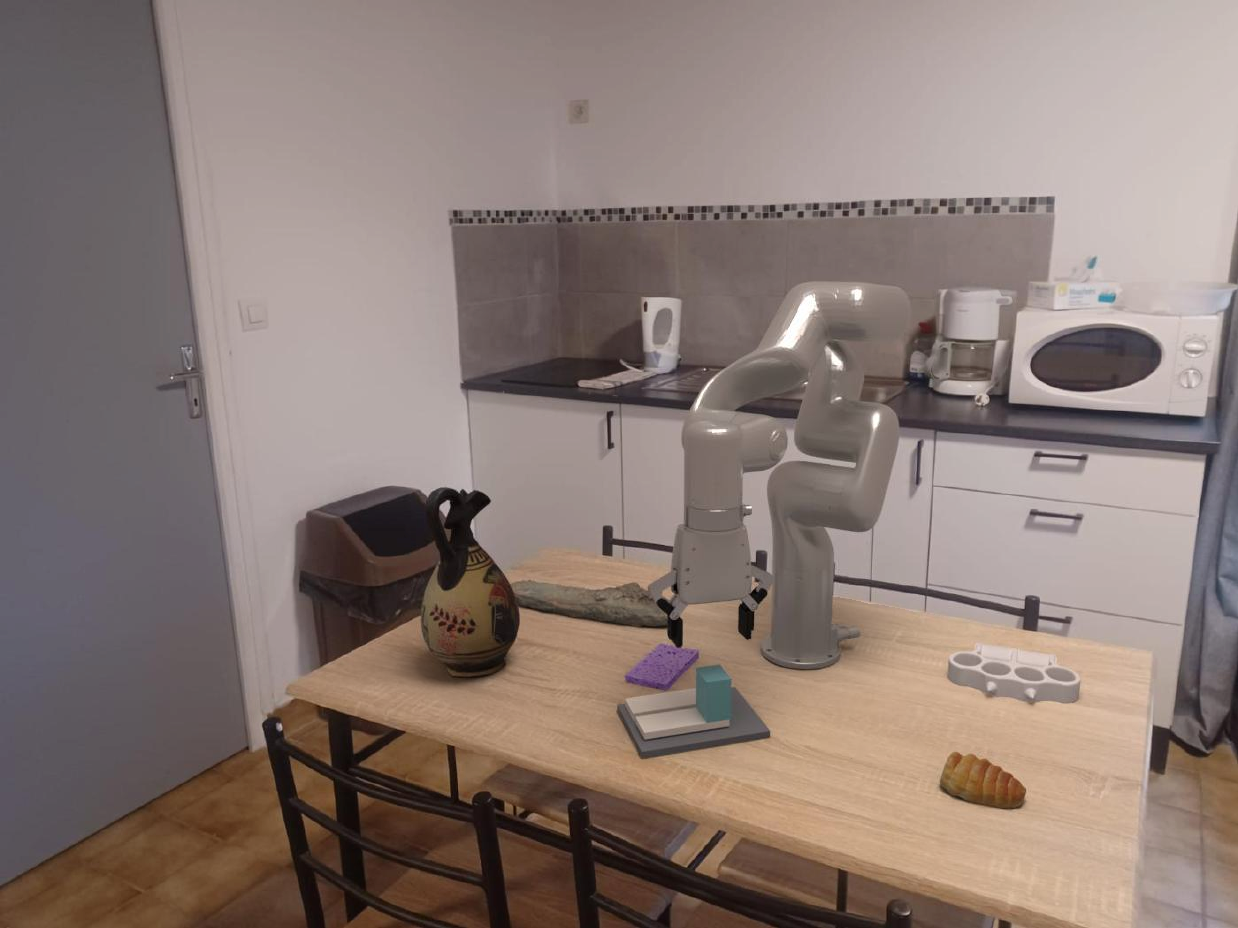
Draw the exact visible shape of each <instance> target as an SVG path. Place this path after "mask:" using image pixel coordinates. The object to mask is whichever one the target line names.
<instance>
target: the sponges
mask: <svg viewBox="0 0 1238 928" xmlns="http://www.w3.org/2000/svg"><path fill="white" fill-rule="evenodd" d="M699 659H700V650H699V649H697V648H691V647H690V648H688V647H684V648H683V646H681V648H677V647H676V646H675V645H670V644H668V643H663V642H659V643H658V645H656V646H655V647H654V648H653V649H652V650H651V652H649V653H648V654H646V656H645V657H643V659H641V660H640V661H639V662H638V663H636V664H635V665H634V666H632V668H631V669H630V670H629V671H627V672H626V673H625V674H624V680H625V681H626V682H628V684H630V683H631V684H632V685H635V686H640V687H646V688H651V689H653V690H659V691H662V692H663V691H664V692H668V690H669V689H670V688H671V687H672V686H673V685H674V683H676V682H677V680H679V679H680V678H681V677H682V676H683V674H685V673H686V671H688V670H689V668H690V667H692V666H693V665H694V664H695V663H696V662H697V661H698V660H699Z"/></svg>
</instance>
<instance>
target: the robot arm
mask: <svg viewBox="0 0 1238 928" xmlns="http://www.w3.org/2000/svg"><path fill="white" fill-rule="evenodd" d="M911 318H912V306H911V302H910V299H909V296H908V294H907V293H906V291H905V290H903V288H901V287H899V286H895V285H884V284H877V283H870V282H862V281H861V282H859V281H820V280H819V281H806V282H802V283H799V284H797V285H795V286H794V287H792V288H791V289H790V290H789V291H788V293H786V295H785V297H784V299H783V301H781V304H780V305H779V308H778V310H777V312H776V313H775V315H774V317H773V318H772V320H771V322H770V324H769V326H768V328H767V330H766V332H765V334H764V335H763V337H762V339H761V341H760V342H759V344H758V346H757V347H756V349H755V350H754V351H752V352H749V353H748V354H746V355H743V356H742V357H740V358H738V359H737V360H736V361H734V362H732V363H730V364H728V365H727V366H726V367H725V368H722V369H721V370H720V371H718V372H717V373H716V374H714V375H713V376H712V377H711V378H710V379H709V380H708V381H707V382H706V383H704V385H703V386H702V387H701V390H700V391H699V393H698V395H697V396H696V398H695V400H694V402H693V403H692V405H691V407H690V409H689V411H688V412H687V415H686V417H685V419H684V422H683V426H682V430H681V440H680V441H681V446H682V449H683V456H684V457H683V470H684V471H683V523H681V524H678V525H677V527H676V531H675V535H674V540H673V546H672V554H671V555H672V556H671V565H670V571H669V572H668V573H665V574H664V575H663V576H661V577H659V578H658V579H655V580H654V581H652V582H651V583H649V584H648V585H647V590H648V591H649V592H650V594H651V596H652V598H653V599H654V601H655V603H656V604H657V606H658V607H659V608H660V609H661V610H662V611H664V612H665V613H666V614H667V625H666V626H667V627H666V628H667V629H666V631H667V638H668V639H669V640H670V641H671V642H672V643H673V644H674V647H675V646H676V647H677V648H681V647H683V645H684V643H683V642H684V640H683V638H684V637H683V634H684V633H683V632H684V628H683V627H684V620H683V618H681V615H682V614H683V613H684V611H685V610H686V609H687V607H688V606H689V605H702V604H712V603H713V604H715V603H723V602H730V601H731V602H732V601H737V600H738V601H739V600H740V601H741V603H739V605H738V608H737V609H738V610H737V611H738V612H737V613H738V615H737V619H738V620H737V632H738V633H739V634H740V635H741V636H742V637H743V638H744V639H745V640H746V641H749V640H752V631H753V632H754V631H755V617H756V616H755V613H756V611H757V610H758V609H759V605H760V604H761V603H762V602H763V601H764V600H765V599H766V597H767V596H768V594H769V592H768V591H770V589H771V615H770V616H771V617H770V618H771V622H770V623H771V624H770V625H771V628H770V634H768V635H766V636H765V637H764V638H763V640H762V641H761V644H760V645H761V646H760V647H761V649H760V650H761V653H762V655H763V656H764V658H766V659H767V660H768V661H770V662H772V663H773V664H776V665H779V666H782V667H785V668H791V669H795V670H796V669H797V670H798V669H799V670H814V669H821V668H825V667H829V666H831V665H833V664H835V663H836V662H837V661H839V659H840V657H841V654H842V652H841V651H842V649H841V645H840V644H839V643H842V641H843V640H851V639H858V638H860V636H861V632H860V629H859V626H858V625H854V626H845V623H844V622H836V623H832V622H833V621H832V620H833V597H834V596H833V595H834V573H835V571H834V569H835V567H834V566H835V551H834V550H835V549H834V546H833V543H832V542H833V541H832V539H831V537H830V535H829V533H828V531H827V529H826V528H828V529H834V530H840V531H846V532H853V533H866V532H869V531H871V530H872V529H873V528H874V527H875V525H876V524H877V522H879V519H880V516H881V512H882V510H883V506H884V503H885V499H886V495H887V490H888V487H889V483H890V479H891V476H892V472H893V467H894V463H895V459H896V456H897V452H898V446H899V441H900V423H899V422H900V421H899V419H898V415H897V414H896V412H895V410H894V409H892V408H891V407H890V406H888V405H886V404H884V403H879V402H874V401H863V400H860V398H861V394H862V392H863V391H862V389H863V386H864V382H865V372H864V370H863V368H862V365H861V363H860V361H859V359H858V358H857V356H856V355H855V353H854V352H853V350H852V349H851V348H850V347H849V344H848V343H847V342H855V343H856V342H857V343H858V342H859V343H874V344H881V343H883V344H884V343H885V344H887V343H888V344H889V343H890V344H891V343H895V342H897V341H898V340H900V339H901V338H902V337H903V336H904V334H905V333H906V332H907V330H908V328H909V326H910V322H911ZM806 383H807V384H806ZM804 384H806V386H805V391H804V393H803V394H804V395H803V396H802V402H801V404H800V407H799V412H798V415H797V419H796V422H795V426H794V431H793V441H794V445H795V447H796V449H797V450H798V451H799V452H801V454H804V455H806V456H810V457H813V458H819V459H824V460H825V459H826V460H832V461H838V462H839V461H840V462H846V463H854V464H855V466H854V467H849V466H842V465H835V464H830V463H829V464H828V463H822V462H814V461H807V460H806V461H805V460H790V461H789V460H788V461H786V462H783V463H780V462H781V460H782V459H783V458H784V456H785V454H786V451H787V448H788V444H789V442H788V441H789V440H788V439H789V437H788V433H787V430H786V427H785V426H784V425H783V423H782V422H781V421H779V420H778V419H777V418H775V417H773V416H770V415H768V414H761V413H752V412H744V411H736V410H737V409H739V408H740V407H743V406H744V405H746V404H749V403H751V402H754V401H757V400H761V399H764V398H768V397H773V396H777V395H780V394H783V393H786V392H789V391H792V390H794V389H797V388H799V387H802V386H803V385H804ZM779 463H780V464H779ZM774 467H775V468H774ZM772 468H774V469H773V470H772V471H771V473H770V475H769V476H768V480H767V483H766V484H767V485H766V497H767V503H768V510H769V515H770V520H771V521H770V522H771V532H772V538H771V539H772V560H771V561H772V562H771V565H772V566H771V567H772V569H771V573H770V572H769V571H766V570H764V569H762V568H759V567H757V566H755V565H752V556H751V549H750V540H749V535H748V531H747V526H746V524H744V517H747V516H751V515H752V513H753V509H752V506H751V505H750V504H748V505H747V504H744V503H743V489H744V488H743V487H744V486H743V481H744V479H743V477H744V474H745V473H746V474H747V473H754V472H764V471H767V470H770V469H772ZM752 578H755V579H757V580H759V581H758V584H757V585H756V586H755V587H754V589H752V583H753V581H752ZM668 588H670V590H671V592H672V593H673V595H672V596H671V597H670V599H668V600H669V601H668V602H667V601H666V600H665V599H664V597H665V596H663V592H664V591H665V590H666V589H667V590H668Z"/></svg>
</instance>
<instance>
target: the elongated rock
mask: <svg viewBox="0 0 1238 928" xmlns="http://www.w3.org/2000/svg"><path fill="white" fill-rule="evenodd" d="M510 585H511V587H512V590H513V592H514V594H515V598H516V601H517V604H518V606H521V607H528V608H530V609H534V610H539V611H541V612H544V613H548V612H551V613H554V612H555V614H558V613H559V615H561V616H567V617H570V618H584V619H593V620H599V621H600V622H604V623H605V622H606V623H610V624H621V625H628V626H632V627H636V628H637V627H638V628H640V627H642V626H647V627H648V626H651V627H659V626H667V614H666V613H665V612H664V611H662V610H661V609H660V608H659V607H658V606H657V604H656V603H655V601H654V599H653V598H652V596H651V594H650V592H649V591H648V589H646V588H643V586H642V587H641V586H640V584H639V582H635V581H634V582H629V583H625V584H622V585H617V586H615V587H610V586H609V587H605V588H603V589H599V588H598V589H590V588H585V587H584V586H583V587H578V586H572V585H562V584H557V583H556V584H555V583H550V582H542V581H541V582H538V581H535V580H531V579H528V580H524V579H523V580H520V581H514V582H513V583H510ZM663 597H664V599H665V600H666V601H667V602H668V601H669V600H670V599H668V598H666V597H665V596H663Z"/></svg>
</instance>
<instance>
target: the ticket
mask: <svg viewBox="0 0 1238 928" xmlns="http://www.w3.org/2000/svg"><path fill="white" fill-rule="evenodd" d="M624 703H625V707H626V708H627V710H628V712H629V714H630V716H631V718H632V720H633V721H635V717H637V716H644V715H650V714H657V713H663V712H670V711H676V710H683V709H689V708H695V707H696V687H694V688H688V689H681V690H676V691H673V690H672V691H665V692H660V693H654V694H646V695H640V696H634V697H628V698H624Z"/></svg>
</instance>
